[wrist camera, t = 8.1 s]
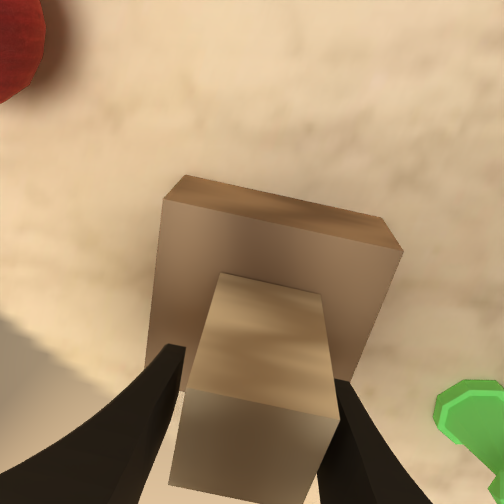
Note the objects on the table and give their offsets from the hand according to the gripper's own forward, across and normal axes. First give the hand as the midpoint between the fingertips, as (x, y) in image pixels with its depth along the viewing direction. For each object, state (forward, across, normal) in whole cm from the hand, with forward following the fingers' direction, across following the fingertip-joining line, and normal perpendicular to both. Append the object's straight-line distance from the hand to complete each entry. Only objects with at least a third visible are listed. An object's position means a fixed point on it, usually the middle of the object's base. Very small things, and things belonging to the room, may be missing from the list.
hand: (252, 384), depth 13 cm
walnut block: (+8, 0, 0) cm, 8 cm away
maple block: (+3, 0, 0) cm, 3 cm away
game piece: (+7, -13, +5) cm, 16 cm away
